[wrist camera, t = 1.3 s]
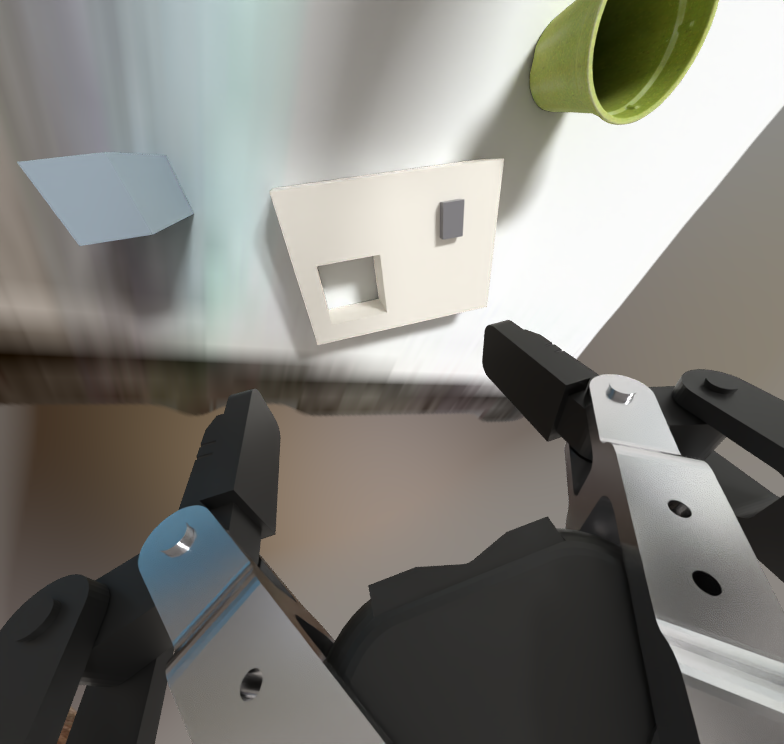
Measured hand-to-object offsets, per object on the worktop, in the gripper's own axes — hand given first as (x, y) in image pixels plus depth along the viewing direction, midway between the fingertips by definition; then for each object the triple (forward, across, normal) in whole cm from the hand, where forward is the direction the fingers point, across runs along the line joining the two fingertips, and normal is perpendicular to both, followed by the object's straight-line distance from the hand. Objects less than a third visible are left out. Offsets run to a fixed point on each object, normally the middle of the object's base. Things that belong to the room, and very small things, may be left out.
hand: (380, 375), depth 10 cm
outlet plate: (+23, -6, +2) cm, 24 cm away
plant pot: (+23, -24, -10) cm, 35 cm away
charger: (+23, +12, -6) cm, 27 cm away
